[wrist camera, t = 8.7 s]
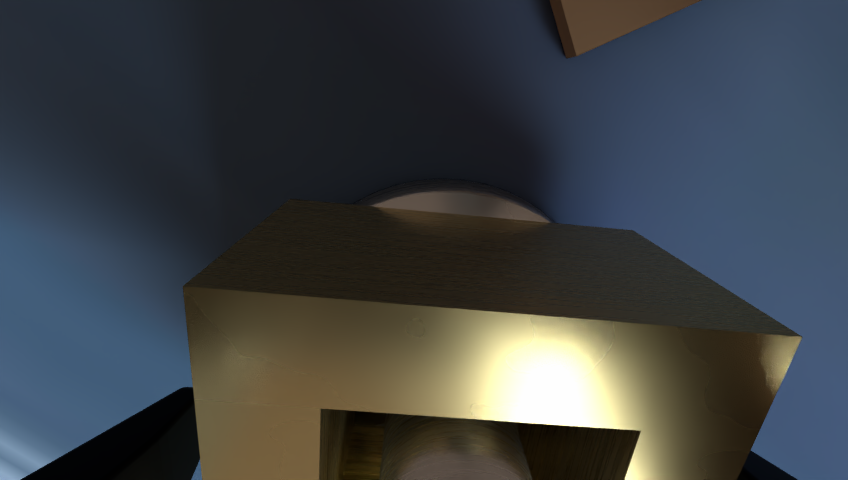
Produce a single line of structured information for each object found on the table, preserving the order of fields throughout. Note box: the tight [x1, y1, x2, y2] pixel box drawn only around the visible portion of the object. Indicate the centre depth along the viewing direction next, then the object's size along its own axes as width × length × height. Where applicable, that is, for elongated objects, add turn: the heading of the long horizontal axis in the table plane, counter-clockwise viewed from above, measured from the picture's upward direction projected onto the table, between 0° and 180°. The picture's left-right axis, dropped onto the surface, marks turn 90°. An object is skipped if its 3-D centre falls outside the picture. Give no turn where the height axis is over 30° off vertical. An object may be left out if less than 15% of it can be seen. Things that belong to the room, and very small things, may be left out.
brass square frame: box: [183, 199, 802, 480], centre depth 8 cm, size 7×7×4 cm
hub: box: [352, 179, 554, 480], centre depth 8 cm, size 8×8×6 cm
